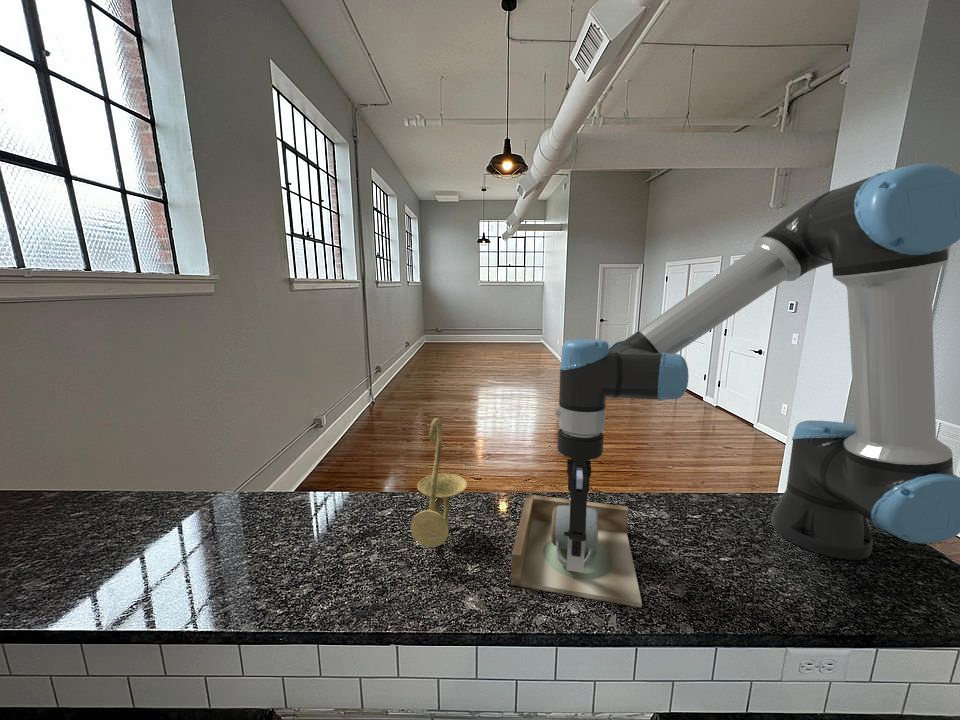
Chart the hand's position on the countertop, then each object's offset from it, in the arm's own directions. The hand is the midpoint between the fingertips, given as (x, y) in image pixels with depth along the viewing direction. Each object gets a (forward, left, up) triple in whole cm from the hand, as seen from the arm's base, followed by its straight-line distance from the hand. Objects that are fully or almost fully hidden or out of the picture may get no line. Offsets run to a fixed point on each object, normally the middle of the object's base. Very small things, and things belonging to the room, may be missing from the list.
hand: (575, 549), depth 70 cm
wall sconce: (+25, +1, -2) cm, 25 cm away
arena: (0, -1, -2) cm, 2 cm away
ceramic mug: (0, 0, -1) cm, 1 cm away
